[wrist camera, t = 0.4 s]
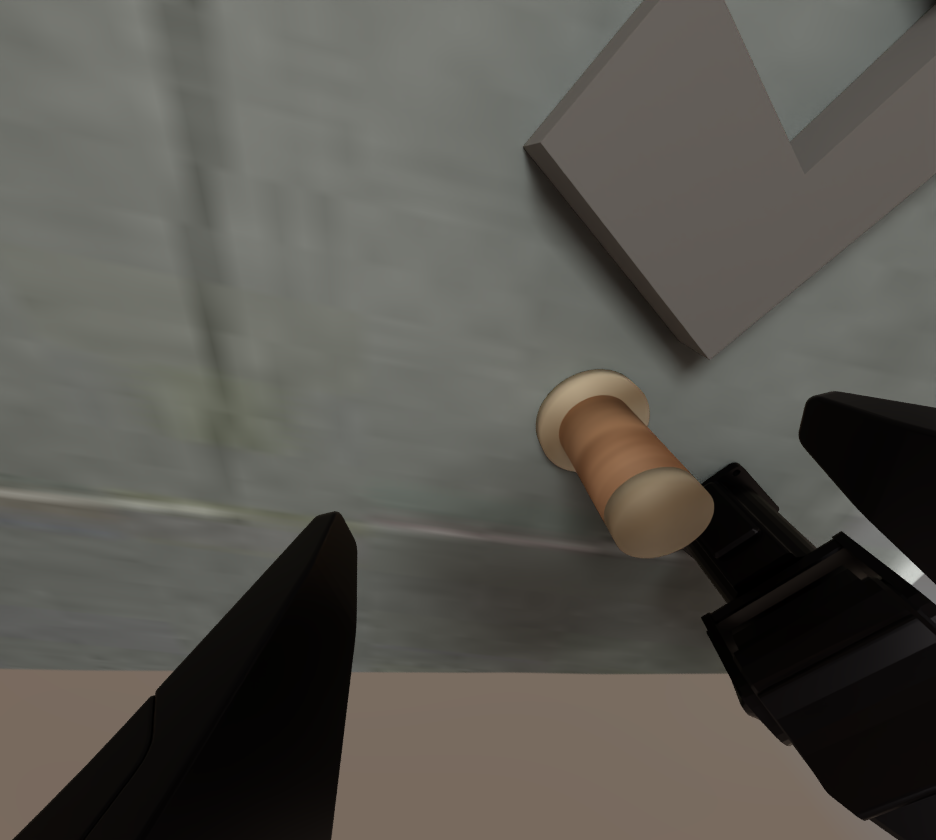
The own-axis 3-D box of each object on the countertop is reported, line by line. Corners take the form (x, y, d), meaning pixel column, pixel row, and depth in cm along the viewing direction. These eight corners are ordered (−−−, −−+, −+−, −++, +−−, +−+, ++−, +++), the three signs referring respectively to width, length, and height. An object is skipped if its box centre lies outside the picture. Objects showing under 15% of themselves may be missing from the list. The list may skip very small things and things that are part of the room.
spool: (660, 412, 23) (764, 511, 16) (579, 477, 25) (643, 591, 18) (598, 346, 20) (691, 432, 14) (513, 425, 22) (558, 535, 16)
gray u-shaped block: (1145, -63, 15) (1269, -103, 13) (679, 341, 21) (709, 359, 19) (1141, -603, 9) (1351, -826, 7) (522, 146, 16) (540, 142, 14)
